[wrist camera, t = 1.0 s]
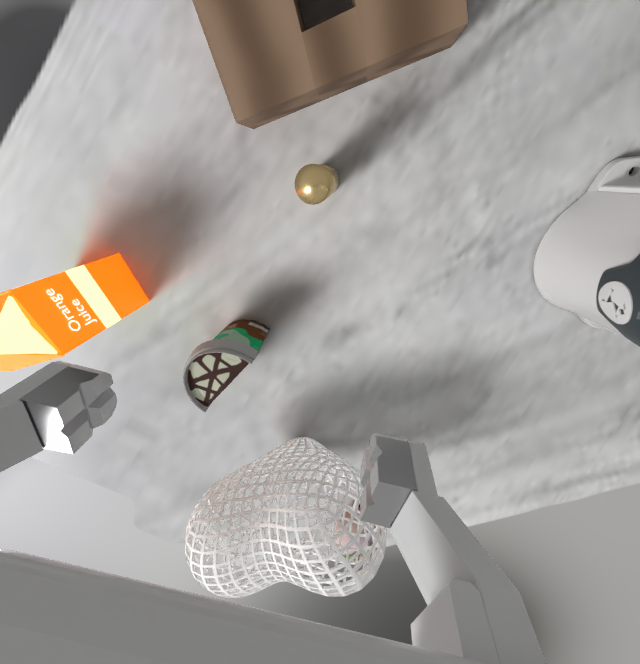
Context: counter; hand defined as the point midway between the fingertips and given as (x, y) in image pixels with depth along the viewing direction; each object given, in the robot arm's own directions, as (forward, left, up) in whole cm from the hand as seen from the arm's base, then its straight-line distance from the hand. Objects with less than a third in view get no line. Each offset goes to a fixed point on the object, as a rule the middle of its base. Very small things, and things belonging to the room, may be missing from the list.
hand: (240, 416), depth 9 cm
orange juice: (+33, -1, -31) cm, 45 cm away
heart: (+15, +34, -31) cm, 48 cm away
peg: (-1, -5, -31) cm, 31 cm away
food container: (+18, +11, -31) cm, 37 cm away
